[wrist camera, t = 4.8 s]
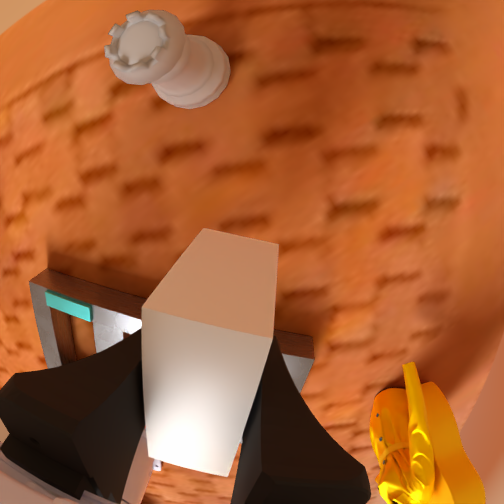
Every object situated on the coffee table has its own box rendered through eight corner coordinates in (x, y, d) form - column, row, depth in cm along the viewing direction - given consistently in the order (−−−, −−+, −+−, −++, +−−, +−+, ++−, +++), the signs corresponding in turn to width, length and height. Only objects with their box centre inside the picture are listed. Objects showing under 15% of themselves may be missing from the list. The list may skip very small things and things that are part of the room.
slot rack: (274, 427, 26) (273, 451, 23) (63, 365, 26) (50, 382, 24) (312, 336, 22) (314, 362, 19) (47, 268, 22) (26, 283, 19)
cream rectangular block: (245, 374, 15) (227, 477, 9) (186, 360, 15) (148, 456, 9) (278, 244, 12) (273, 338, 7) (203, 227, 12) (141, 307, 7)
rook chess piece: (191, 124, 17) (129, 123, 10) (144, 77, 16) (65, 55, 9) (248, 73, 16) (221, 31, 8) (197, 26, 15) (144, -29, 7)
